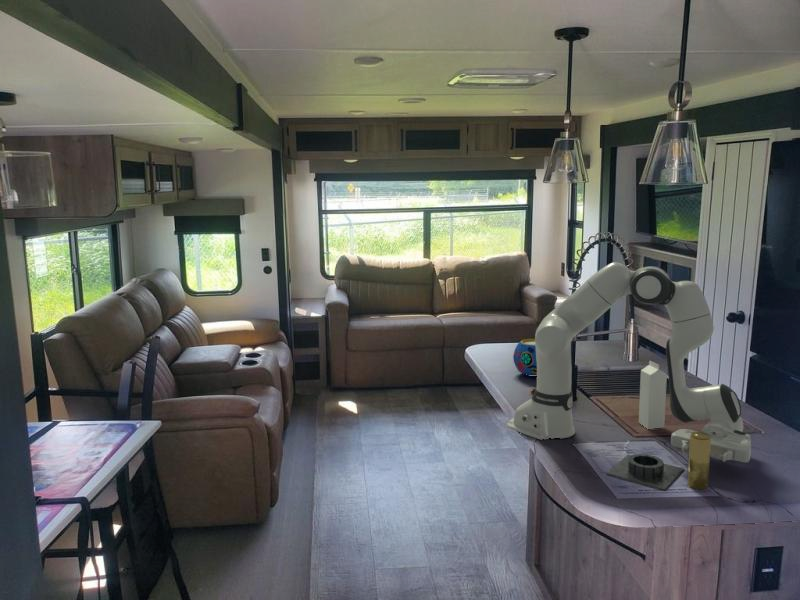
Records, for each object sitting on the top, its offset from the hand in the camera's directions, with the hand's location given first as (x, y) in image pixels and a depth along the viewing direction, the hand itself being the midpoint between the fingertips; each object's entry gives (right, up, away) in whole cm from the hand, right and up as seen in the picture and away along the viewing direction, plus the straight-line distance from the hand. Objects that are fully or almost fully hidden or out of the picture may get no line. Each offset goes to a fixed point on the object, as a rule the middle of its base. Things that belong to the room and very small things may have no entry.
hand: (702, 454), depth 174 cm
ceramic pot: (-24, +9, +103) cm, 107 cm away
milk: (+3, -1, +43) cm, 43 cm away
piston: (-2, -8, -1) cm, 9 cm away
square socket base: (-13, -7, +8) cm, 16 cm away
